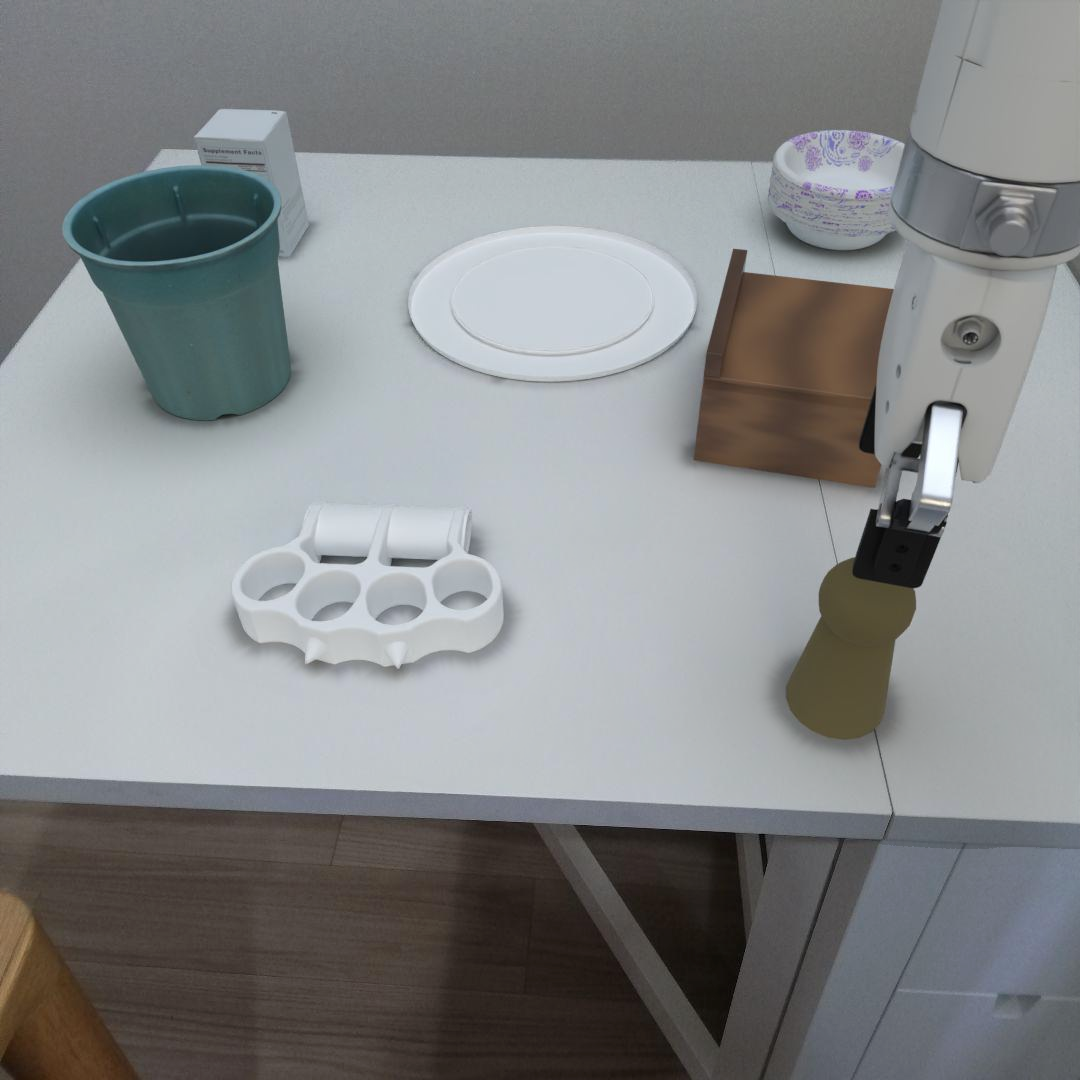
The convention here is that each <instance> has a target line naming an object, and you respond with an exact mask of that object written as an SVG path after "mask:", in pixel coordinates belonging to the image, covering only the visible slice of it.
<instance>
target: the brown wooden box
mask: <svg viewBox="0 0 1080 1080" xmlns="http://www.w3.org/2000/svg"><path fill="white" fill-rule="evenodd" d="M747 257H748V249H741V248H732V252H731V256H730V260H729V263H728V267H727V271H726V275H725V279H724V282H723V286H722V290H721V294H720V298H719V302H718V307H717V310H716V313H715V318H714V322H713V326H712V329H711V333H710V337H709V340H708V344H707V348H706V353H705V361H704V369H703V376H702V377H703V378H702V385H701V393H700V394H701V395H700V401H699V402H700V403H699V409H698V410H699V411H698V418H697V426H696V435H695V443H694V452H693V461H695V462H701V463H702V462H703V463H708V464H716V465H722V466H729V467H735V468H741V469H749V470H755V471H761V472H768V473H773V474H780V475H787V476H794V477H801V478H806V479H807V478H808V479H812V480H813V479H814V480H821V481H825V482H826V481H828V482H833V483H840V484H846V485H854V486H859V487H866V488H872V489H874V488H876V486H877V482H878V479H879V475H880V472H881V469H882V467H883V466H882V464H881V463H880V462H879V461H878V459H877V458H876V456H875V454H870V453H865V452H863V451H861V450H860V449H859V440H860V436H861V433H862V429H863V426H864V423H865V419H866V416H867V412H868V409H869V405H870V402H871V399H872V395H873V392H874V388H875V386H876V383H877V368H878V359H879V352H880V346H881V341H882V336H883V331H884V326H885V322H886V318H887V314H888V309H889V305H890V301H891V298H892V294H893V290H894V288H889V287H880V286H879V287H878V286H871V285H863V284H854V283H844V282H835V281H827V280H820V279H819V280H818V279H809V278H800V277H793V276H792V277H791V276H783V275H774V274H767V273H766V274H765V273H757V272H748V271H746V264H747Z"/></svg>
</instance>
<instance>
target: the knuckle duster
mask: <svg viewBox="0 0 1080 1080" xmlns="http://www.w3.org/2000/svg"><path fill="white" fill-rule="evenodd" d="M472 527H473V511H472V509H471V508H468V506H463V505H462V506H461V505H459V506H457V507H456V508H455V507H432V506H407V505H398V504H397V503H387V504H386V505H382V504H381V505H380V504H358V503H357V504H356V503H334V502H333V503H331V502H330V503H329V502H328V501H326V500H318V501H316V502H312V503H310V505H309V506H308V507H307V509H306V512H305V514H304V517H303V520H302V524H301V530H300V533H299V535H298V536H296V537H295V538H293V539H292V540H291V541H289V542H287V544H285V545H282V546H281V545H280V546H274V547H270V548H266V549H265V550H262V551H260V552H258V553H256V554H254V555H252V556H250V557H249V558H248V559H246V560H245V561H244V562H243V563H242V564H241V565H240V566H239V567H238V568H237V570H236V572H235V573H234V575H233V577H232V580H231V584H230V594H231V598H232V600H233V604H234V606H235V609H236V613H237V615H238V618H239V620H240V624H241V626H242V629H243V630H244V632H245V633H246V634H247V635H248V637H249V638H250V639H251V640H253V641H255V642H256V643H259V644H264V643H265V644H266V643H283V644H284V643H285V644H287V645H288V644H289V645H291V646H294V647H296V648H298V650H300V651H302V652H303V653H304V666H306V665H308V664H309V663H311V662H314V661H315V660H317V661H320V662H324V663H327V664H331V665H333V666H334V665H337V664H340V663H344V662H350V661H366V662H370V663H375V664H377V665H378V666H382V667H383V668H387V667H393V666H395V667H396V669H397V670H399V669H400V668H401V666H402V665H406V664H413V663H415V662H417V661H418V660H420V659H422V658H424V657H425V656H427V655H431V654H433V653H436V652H441V651H443V652H444V651H457V652H463V653H466V654H471V653H474V652H477V651H479V650H481V649H483V648H485V647H486V646H488V645H489V644H490V643H492V642H493V641H494V640H495V639H496V637H497V636H498V635H499V633H500V632H501V630H502V628H503V624H504V619H505V610H504V594H503V583H502V579H501V576H500V573H499V572H498V570H497V569H496V568H495V566H493V565H492V564H491V563H490V562H489V561H487V560H485V559H484V558H482V557H480V556H477V555H474V554H470V553H469V551H470V546H471V545H470V544H471V537H472ZM322 556H336V557H357V558H361V557H362V558H366V559H365V560H363V561H361V562H360V563H356V564H349V563H347V564H345V563H325V562H324V563H323V562H321V560H322ZM393 559H410V560H433V561H434V560H436V561H434V563H432V564H431V565H429V566H425V567H416V566H395V565H392V562H393ZM287 584H293V585H294V587H292V589H291V590H290V591H289V592H287V593H286V594H284V595H282V596H280V597H277V598H275V599H269V600H260V599H262V597H263V596H264V595H265V594H266V593H267V592H269V591H270V590H272V589H274V588H276V587H278V586H282V585H287ZM461 592H472V593H476V594H479V595H481V596H482V597H484V598H486V600H484V602H482V603H480V604H479V605H476V606H474V607H472V608H467V609H457V608H451V607H448V606H446V605H444V604H442V602H443V601H444V600H445V599H446V598H448V597H449V596H451V595H453V594H457V593H461ZM338 603H348V604H349V603H350V604H351V606H350V608H349V609H348V610H347V611H346V612H344V613H343V614H342V615H340V616H338V617H335V618H333V619H329V620H322V621H321V620H320V621H319V620H313V618H315V616H316V614H317V613H319V612H320V611H322V609H324V608H325V607H327V606H331V605H333V604H338ZM397 606H412V607H415V608H417V609H419V610H421V611H422V612H420V614H419V615H418V616H416V617H415V618H413V619H412V620H409V621H407V622H404V623H398V624H387V623H384V622H381V621H378V620H376V619H377V618H378V617H379V616H380V615H381V614H382V613H383V612H385V611H386V610H388V609H391V608H393V607H397Z"/></svg>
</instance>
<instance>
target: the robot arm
mask: <svg viewBox="0 0 1080 1080" xmlns="http://www.w3.org/2000/svg"><path fill="white" fill-rule="evenodd" d="M931 39H932V40H931V44H930V47H929V50H928V54H927V59H926V62H925V66H924V70H923V74H922V77H921V81H920V85H919V88H918V92H917V97H916V102H915V105H914V108H913V112H912V115H911V120H910V124H909V127H908V130H907V133H906V138H905V141H904V144H905V145H904V149H903V153H902V157H901V161H900V164H899V168H898V172H897V176H896V180H895V183H894V187H893V191H892V196H891V199H890V203H889V207H888V218H889V221H890V223H891V225H892V226H893V227H894V228H895V229H896V230H895V231H896V233H897V234H899V235H900V236H901V237H902V238H903V239H904V240H906V241H907V242H906V245H905V248H904V252H903V255H902V259H901V261H900V266H899V269H898V272H897V276H896V280H895V283H894V287H893V289H894V290H893V294H892V298H891V301H890V305H889V309H888V314H887V318H886V322H885V326H884V331H883V336H882V341H881V346H880V352H879V359H878V368H877V383H876V386H875V388H874V392H873V395H872V399H871V402H870V405H869V409H868V412H867V416H866V419H865V423H864V426H863V429H862V433H861V436H860V440H859V449H860V450H861V451H863V452H865V453H870V454H875V456H876V458H877V459H878V461H879V462H880V463H881V464H882V466H881V467H883V468H885V472H884V478H883V482H882V486H881V492H880V497H879V501H878V507H877V509H875V508H870V509H869V512H868V516H867V518H866V522H865V525H864V528H863V531H862V534H861V536H860V540H859V544H858V547H857V550H856V552H855V556H854V557H855V559H854V562H853V569H852V574H853V576H854V577H856V578H859V579H864V580H870V581H875V582H881V583H886V584H891V585H897V586H902V587H908V588H914V589H917V588H920V587H922V585H923V583H924V581H925V579H926V576H927V574H928V571H929V569H930V567H931V564H932V562H933V559H934V556H935V554H936V551H937V549H938V546H939V544H940V541H941V539H942V536H943V535H944V533H945V529H946V526H947V524H948V522H947V520H948V517H949V513H950V511H951V508H952V505H953V500H954V493H955V486H956V485H955V484H956V477H957V473H958V467H959V474H960V480H961V481H965V482H972V483H973V484H981V483H983V482H984V481H985V480H986V479H987V478H989V477H990V475H992V474H991V473H992V472H993V469H994V467H995V464H996V461H997V458H998V457H999V453H1000V451H1001V448H1002V445H1003V442H1004V440H1005V436H1006V434H1007V432H1008V429H1009V425H1010V423H1011V422H1012V421H1011V420H1012V419H1013V415H1014V413H1015V412H1014V411H1015V410H1016V406H1017V404H1018V401H1019V399H1020V395H1021V392H1022V390H1023V387H1024V384H1025V382H1026V378H1027V376H1028V373H1029V370H1030V367H1031V365H1032V361H1033V358H1034V354H1035V353H1036V348H1037V345H1038V342H1039V339H1040V336H1041V332H1042V329H1043V326H1044V323H1045V318H1046V315H1047V312H1048V308H1049V303H1050V300H1051V296H1052V291H1053V288H1054V283H1055V280H1056V279H1055V278H1056V275H1057V269H1058V266H1060V265H1064V264H1066V263H1068V262H1070V261H1072V260H1073V259H1075V258H1076V257H1078V256H1079V255H1080V0H941V5H940V8H939V12H938V17H937V20H936V25H935V28H934V31H933V36H932V38H931ZM903 472H907V473H913V474H917V477H916V483H915V487H914V489H913V491H912V493H911V497H910V499H908V498H901V499H899V500H897V497H898V493H899V488H900V483H901V478H902V473H903Z"/></svg>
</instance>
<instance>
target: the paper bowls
mask: <svg viewBox="0 0 1080 1080" xmlns="http://www.w3.org/2000/svg"><path fill="white" fill-rule="evenodd" d="M904 145H905V142H902V141H900V140H898V139H894V138H892V137H889V136H885V135H882V134H878V133H873V132H867V131H861V130H848V129H827V130H818V131H817V130H816V131H810V132H807V133H802V134H799V135H796V136H794V137H791V138H789V139H788V140H786V141H785V142H783V143H782V144H781V145H780V146H779V147H778V148H777V150H776V151H775V153H774V154H773V158H772V167H771V174H770V177H769V187H768V193H767V202H768V206H769V209H770V211H771V212H772V213H773V214H774V215H775V217H777V218H778V219H780V220H781V221H782V222H784V223H785V224H786V227H787V228H788V230H789V231H790V233H791V234H793V236H795V237H796V238H797V239H799V240H800V241H801V242H803V243H806V244H808V245H810V246H813V247H816V248H821V249H826V250H831V251H832V250H833V251H855V250H861V249H864V248H868V247H871V246H873V245H875V244H877V243H878V242H880V241H882V239H884V238H885V236H886V235H888V234H890V233H893V232H895V231H896V229H895V228H894V227H893V226H892V225H891V223H890V221H889V218H888V207H889V203H890V199H891V196H892V191H893V187H894V183H895V180H896V176H897V172H898V168H899V164H900V161H901V157H902V153H903V149H904Z"/></svg>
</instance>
